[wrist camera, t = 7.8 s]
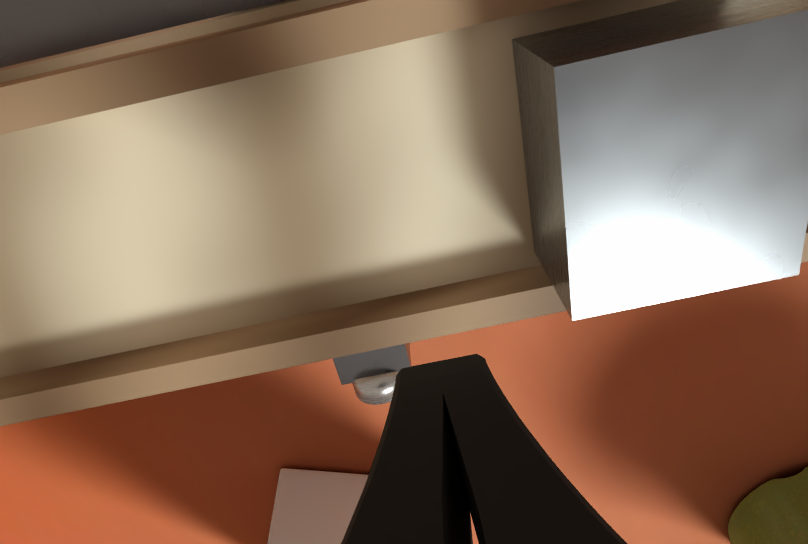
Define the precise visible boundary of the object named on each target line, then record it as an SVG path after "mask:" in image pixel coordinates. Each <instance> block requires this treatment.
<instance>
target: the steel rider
mask: <svg viewBox="0 0 808 544" xmlns="http://www.w3.org/2000/svg"><path fill="white" fill-rule="evenodd" d="M512 46H513V56H514V65H515V75H516V84H517V94H518V103H519V113H520V122H521V132H522V141H523V151H524V160H525V170H526V179H527V189H528V198H529V208H530V217H531V227H532V236H533V246H534V252H535V254H536V256H537V257H538V259H539V261H540V263H541V265H542V267H543V268H544V270H545V272H546V274H547V276H548V277H549V279H550V281H551V283H552V285H553V287H554V288H555V290H556V292H557V294H558V296H559V298H560V299H561V301H562V303H563V305H564V307H565V308H566V310H567V312H568V314H569V316H570V318H571V319H572V321H574V320H579V319H584V318H589V317H594V316H599V315H604V314H609V313H613V312H618V311H623V310H628V309H633V308H638V307H643V306H648V305H653V304H658V303H663V302H668V301H672V300H677V299H682V298H687V297H692V296H697V295H702V294H707V293H712V292H717V291H722V290H727V289H731V288H736V287H741V286H746V285H751V284H756V283H761V282H766V281H771V280H776V279H781V278H785V277H790V276H795V275H799V271H800V265H801V259H802V253H803V247H804V241H805V235H806V229H807V223H808V0H679V1H675V2H671V3H666V4H662V5H658V6H653V7H649V8H645V9H640V10H636V11H632V12H627V13H623V14H618V15H614V16H610V17H605V18H601V19H597V20H592V21H588V22H584V23H579V24H575V25H571V26H566V27H562V28H558V29H553V30H549V31H545V32H540V33H536V34H532V35H527V36H523V37H519V38H514V39H512Z"/></svg>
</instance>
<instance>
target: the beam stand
mask: <svg viewBox="0 0 808 544" xmlns="http://www.w3.org/2000/svg"><path fill="white" fill-rule="evenodd" d="M280 1H284V0H0V68H2V67H6V66H10V65H15V64H19V63H23V62H27V61H31V60H36V59H40V58H44V57H48V56H52V55H57V54H61V53H65V52H69V51H73V50H78V49H82V48H86V47H90V46H95V45H99V44H103V43H107V42H111V41H116V40H120V39H124V38H128V37H132V36H137V35H141V34H145V33H149V32H153V31H158V30H162V29H166V28H170V27H174V26H179V25H183V24H187V23H191V22H195V21H200V20H204V19H208V18H212V17H216V16H221V15H225V14H229V13H233V12H237V11H242V10H246V9H250V8H254V7H259V6H263V5H267V4H271V3H275V2H280ZM333 361H334V364H335V367H336V370H337V373H338V375H339V378H340V381H341V384H342V385H343V384H349V383H352V384H353V387H354V390H355V393H356V395H357V397H358V398H359V399H360V400H361V401H362V402H364V403H367V404H374V405H377V404H384V403H388V402H390V401H391V400H392V396H393V391H394V387H395V380H396V375H397V374H398V372H399V371H400V370H401V369H402V368H406V367H411V357H410V346H409V343H406V344H401V345H396V346H391V347H386V348H381V349H376V350H372V351H367V352H362V353H357V354H352V355H347V356H342V357H337V358H333Z"/></svg>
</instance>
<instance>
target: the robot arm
mask: <svg viewBox="0 0 808 544" xmlns="http://www.w3.org/2000/svg"><path fill="white" fill-rule="evenodd" d="M470 513H471V516H472V520H473V524H474V527H475V531H476V535H477V538H478V542H479V544H627V543H626V542H625V541H624V540H623V539H622V538H621V537H620V536H619V535H618V534H617V533H616V532H615V531H614V530H613V529H612V527H611V526H610V525H609V524H608V523H607V522H606V521H605V520H604V519H603V518H602V517H601V516H600V515H599V514H598V513H597V511H596V510H595V509H594V508H593V507H592V506H591V505H590V504H589V503H588V502H587V500H586V499H585V498H584V497H583V496H582V495H581V494H580V492H579V491H578V490H577V489H576V488H575V487H574V486H573V484H572V483H571V482H570V481H569V480H568V479H567V478H566V476H565V475H564V474H563V473H562V472H561V470H560V469H559V468H558V467H557V466H556V464H555V463H554V462H553V461H552V460H551V458H550V457H549V456H548V455H547V453H546V452H545V451H544V449H543V448H542V447H541V446H540V444H539V443H538V442H537V440H536V439H535V438H534V436H533V435H532V434H531V433H530V431H529V430H528V429H527V427H526V426H525V425H524V423H523V422H522V420H521V419H520V418H519V416H518V415H517V413H516V412H515V411H514V409H513V408H512V406H511V405H510V403H509V402H508V400H507V399H506V397H505V395H504V394H503V392H502V391H501V389H500V387H499V386H498V384H497V382H496V381H495V379H494V377H493V375H492V373H491V371H490V369H489V367H488V365H487V363H486V360H485V358H483V357H481V356H480V355H478V354H474V355H468V356H463V357H458V358H453V359H448V360H442V361H437V362H432V363H427V364H422V365H417V366H411V367H406V368H402V369H401V370H400V371H399V372H398V374H397V375H396V380H395V387H394V391H393V396H392V400H391V405H390V409H389V412H388V416H387V420H386V423H385V426H384V430H383V433H382V437H381V440H380V443H379V446H378V449H377V452H376V455H375V458H374V460H373V463H372V466H371V469H370V472H369V475H368V478H367V481H366V483H365V486H364V489H363V491H362V494H361V496H360V499H359V501H358V504H357V506H356V508H355V511H354V513H353V516H352V518H351V521H350V523H349V526H348V528H347V530H346V533H345V535H344V538H343V540H342V542H341V544H473V541H472V529H471V517H470Z"/></svg>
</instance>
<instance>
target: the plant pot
mask: <svg viewBox="0 0 808 544" xmlns="http://www.w3.org/2000/svg"><path fill="white" fill-rule="evenodd" d="M728 534H729V538H730V542H731V544H808V467H805V468H804V470H803V471H802V472H800V473H799V474H797V475H795V476H791V477H787V478H781V479H772V480H770V481H768V482H766V483H764V484H762V485H761V486H759V487H758V488H756V489H755V490H754V491H752V492H751V493H750V494H749V495H748V496H747V497H745V498H744V499H743V500H742V501H741V502H740V504H739V505H738V506H737V507H736V509H735V510H734V512H733V514H732V515H731V518H730V520H729V524H728Z"/></svg>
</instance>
